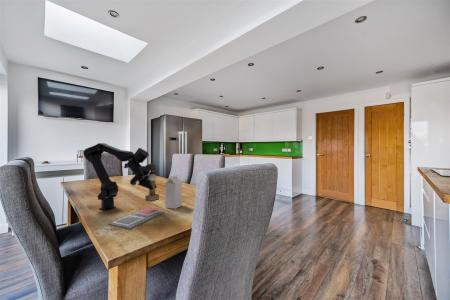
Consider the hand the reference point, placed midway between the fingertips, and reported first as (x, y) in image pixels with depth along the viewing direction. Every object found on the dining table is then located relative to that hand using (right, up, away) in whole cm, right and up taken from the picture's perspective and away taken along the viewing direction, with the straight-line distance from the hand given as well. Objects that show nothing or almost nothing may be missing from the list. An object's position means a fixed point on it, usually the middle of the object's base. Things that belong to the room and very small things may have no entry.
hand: (154, 188), depth 105 cm
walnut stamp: (-1, -7, 0) cm, 7 cm away
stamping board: (-5, -14, -9) cm, 17 cm away
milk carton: (+8, -14, +11) cm, 19 cm away
